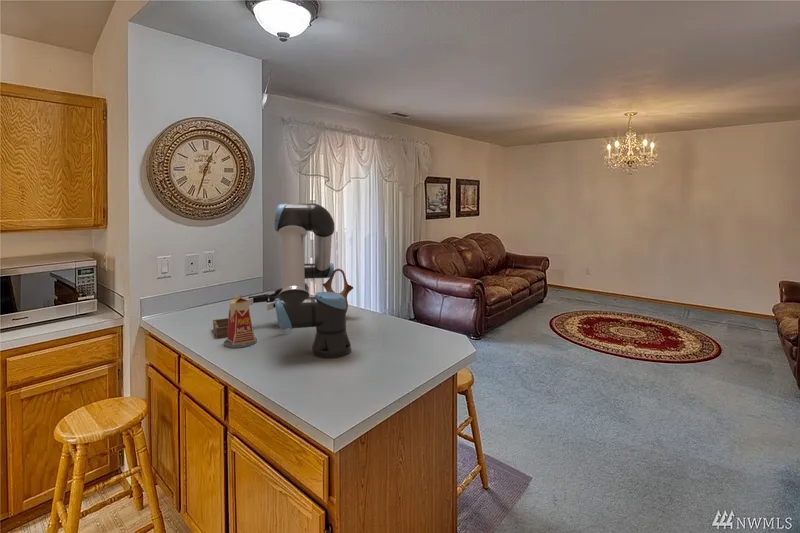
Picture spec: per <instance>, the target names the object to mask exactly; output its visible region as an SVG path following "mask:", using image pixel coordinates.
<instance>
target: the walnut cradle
mask: <svg viewBox="0 0 800 533" xmlns="http://www.w3.org/2000/svg"><path fill="white" fill-rule="evenodd" d="M228 318H229V317H227V318H219V319H212V328H213V331H214V334H215V337H216V339H223V338H228Z"/></svg>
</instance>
